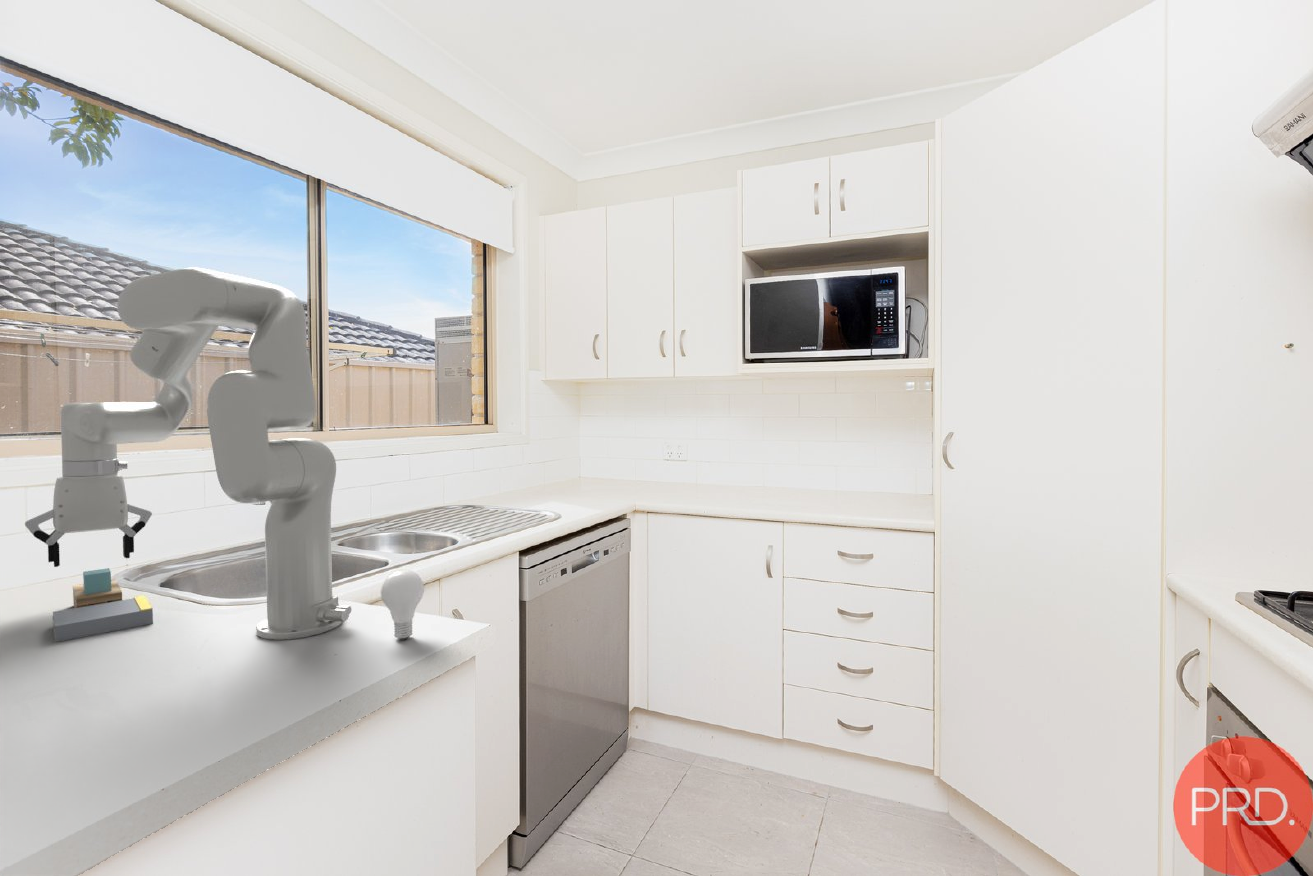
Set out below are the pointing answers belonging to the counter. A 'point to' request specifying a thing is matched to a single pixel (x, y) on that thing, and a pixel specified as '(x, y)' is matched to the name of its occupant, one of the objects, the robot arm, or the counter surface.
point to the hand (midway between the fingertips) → (92, 561)
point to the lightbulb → (402, 599)
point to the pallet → (96, 595)
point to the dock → (101, 618)
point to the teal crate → (97, 581)
